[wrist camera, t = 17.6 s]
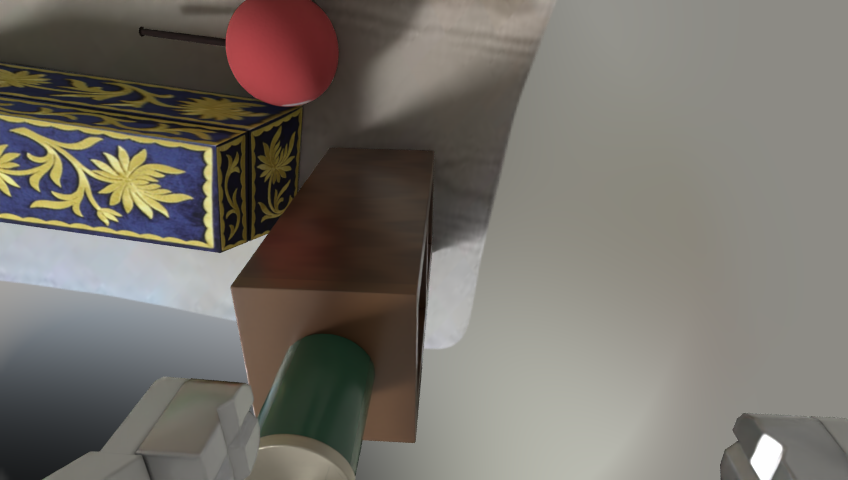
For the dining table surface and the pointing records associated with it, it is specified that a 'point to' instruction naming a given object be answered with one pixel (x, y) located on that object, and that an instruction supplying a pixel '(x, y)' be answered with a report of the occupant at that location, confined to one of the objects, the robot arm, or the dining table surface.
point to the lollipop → (276, 49)
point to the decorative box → (143, 159)
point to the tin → (315, 412)
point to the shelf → (348, 277)
